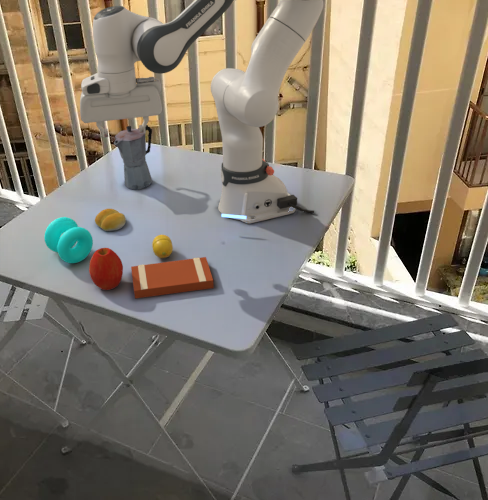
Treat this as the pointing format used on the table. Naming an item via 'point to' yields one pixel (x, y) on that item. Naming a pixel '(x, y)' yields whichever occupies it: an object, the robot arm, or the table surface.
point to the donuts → (68, 240)
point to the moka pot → (134, 156)
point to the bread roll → (110, 220)
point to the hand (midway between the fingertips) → (124, 134)
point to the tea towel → (171, 277)
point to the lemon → (162, 246)
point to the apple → (106, 269)
